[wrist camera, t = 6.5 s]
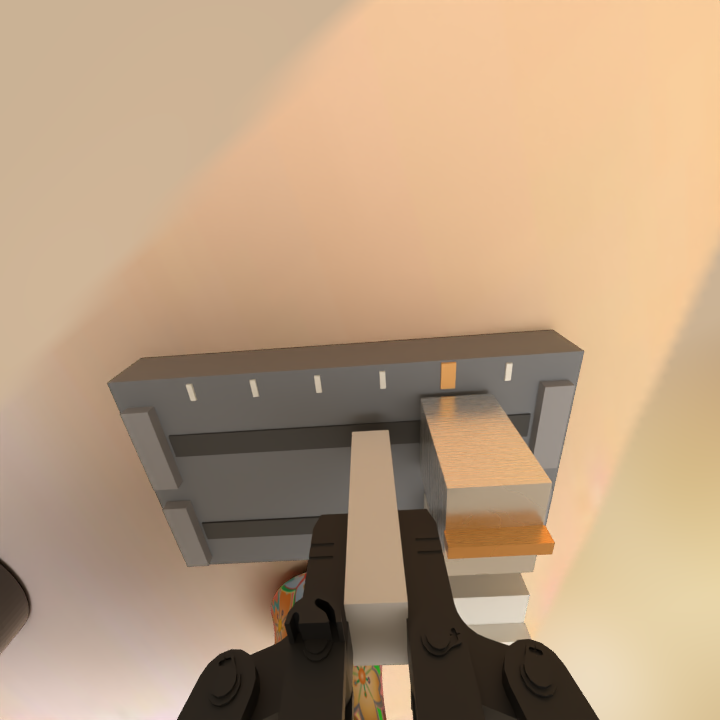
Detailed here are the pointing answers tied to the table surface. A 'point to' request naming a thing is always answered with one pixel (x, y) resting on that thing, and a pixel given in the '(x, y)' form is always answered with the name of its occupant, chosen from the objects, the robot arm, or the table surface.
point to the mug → (364, 677)
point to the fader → (482, 486)
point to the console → (330, 439)
